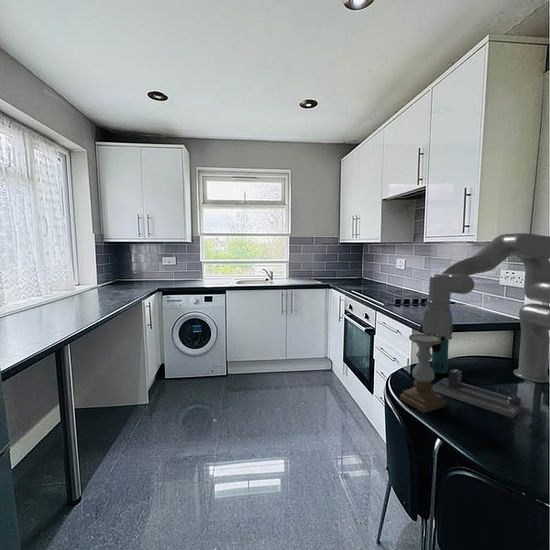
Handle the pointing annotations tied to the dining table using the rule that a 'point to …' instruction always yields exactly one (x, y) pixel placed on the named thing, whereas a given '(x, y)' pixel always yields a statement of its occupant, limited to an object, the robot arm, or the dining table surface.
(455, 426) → the dining table surface
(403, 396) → the candle holder
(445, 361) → the beverage bottle
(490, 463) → the dining table surface
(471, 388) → the console
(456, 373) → the fader tab
